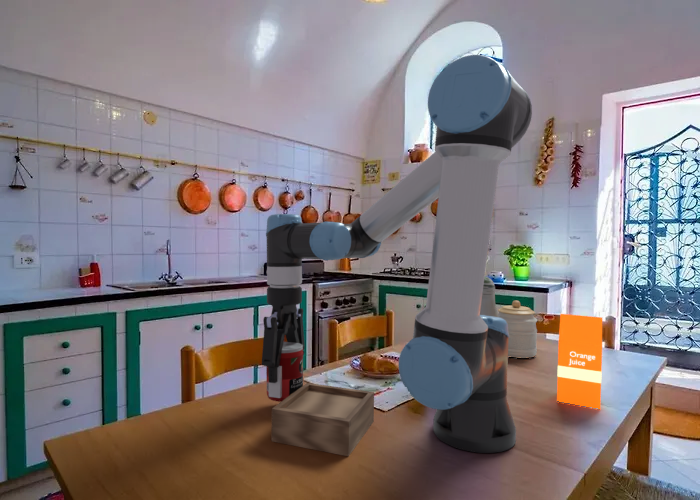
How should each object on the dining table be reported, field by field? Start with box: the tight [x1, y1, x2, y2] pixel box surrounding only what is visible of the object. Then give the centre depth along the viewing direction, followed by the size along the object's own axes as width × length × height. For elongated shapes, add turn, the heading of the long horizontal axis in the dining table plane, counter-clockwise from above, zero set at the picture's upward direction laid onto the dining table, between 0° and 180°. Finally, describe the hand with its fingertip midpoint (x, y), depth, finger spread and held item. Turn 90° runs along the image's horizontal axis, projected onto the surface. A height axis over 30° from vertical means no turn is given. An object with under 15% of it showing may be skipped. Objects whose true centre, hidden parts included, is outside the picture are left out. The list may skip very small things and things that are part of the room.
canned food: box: [265, 341, 304, 403], centre depth 93 cm, size 8×8×11 cm
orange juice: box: [556, 313, 603, 410], centre depth 100 cm, size 8×9×20 cm
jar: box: [497, 300, 538, 358], centre depth 140 cm, size 13×13×18 cm
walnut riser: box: [270, 382, 375, 457], centre depth 83 cm, size 15×15×6 cm
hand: (284, 390), depth 93 cm, fingers closed on canned food, 8 cm apart
